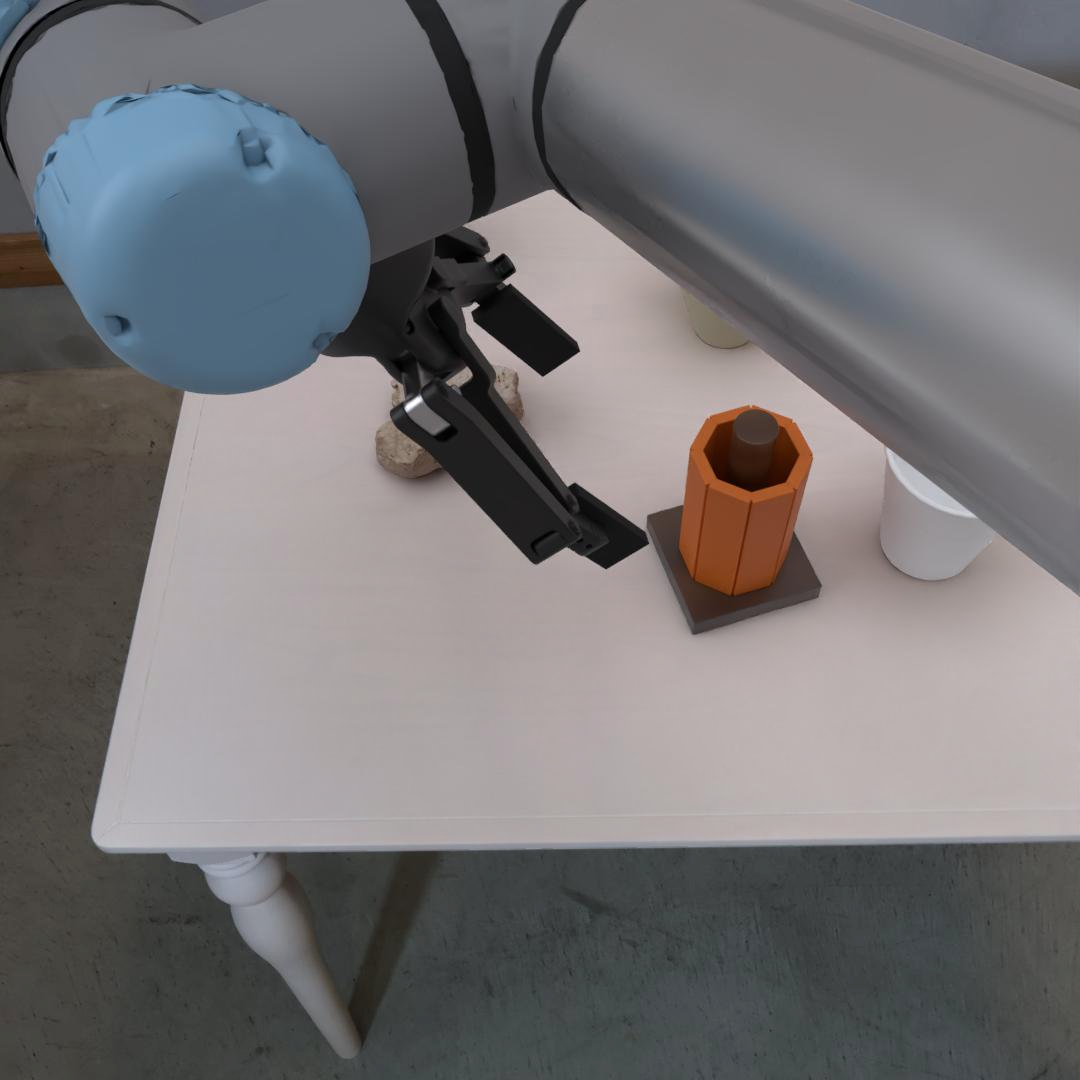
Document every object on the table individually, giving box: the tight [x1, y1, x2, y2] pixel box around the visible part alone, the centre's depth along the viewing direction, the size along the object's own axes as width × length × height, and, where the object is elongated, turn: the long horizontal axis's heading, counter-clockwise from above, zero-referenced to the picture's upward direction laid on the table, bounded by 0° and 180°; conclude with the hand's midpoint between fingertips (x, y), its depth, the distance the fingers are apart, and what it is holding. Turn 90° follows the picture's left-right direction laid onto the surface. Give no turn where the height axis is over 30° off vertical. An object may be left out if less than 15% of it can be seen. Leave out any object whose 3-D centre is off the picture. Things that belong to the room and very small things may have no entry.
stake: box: [646, 409, 823, 635], centre depth 71 cm, size 9×9×15 cm
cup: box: [879, 444, 999, 581], centre depth 73 cm, size 10×10×11 cm
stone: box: [374, 364, 525, 479], centre depth 82 cm, size 9×11×5 cm
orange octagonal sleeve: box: [679, 404, 814, 596], centre depth 71 cm, size 7×7×11 cm
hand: (591, 449), depth 61 cm, fingers open, 13 cm apart
